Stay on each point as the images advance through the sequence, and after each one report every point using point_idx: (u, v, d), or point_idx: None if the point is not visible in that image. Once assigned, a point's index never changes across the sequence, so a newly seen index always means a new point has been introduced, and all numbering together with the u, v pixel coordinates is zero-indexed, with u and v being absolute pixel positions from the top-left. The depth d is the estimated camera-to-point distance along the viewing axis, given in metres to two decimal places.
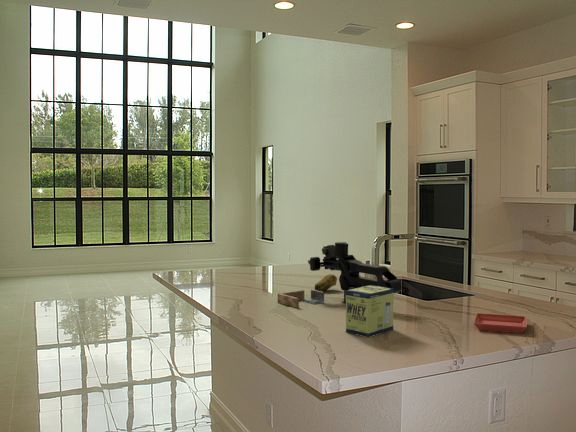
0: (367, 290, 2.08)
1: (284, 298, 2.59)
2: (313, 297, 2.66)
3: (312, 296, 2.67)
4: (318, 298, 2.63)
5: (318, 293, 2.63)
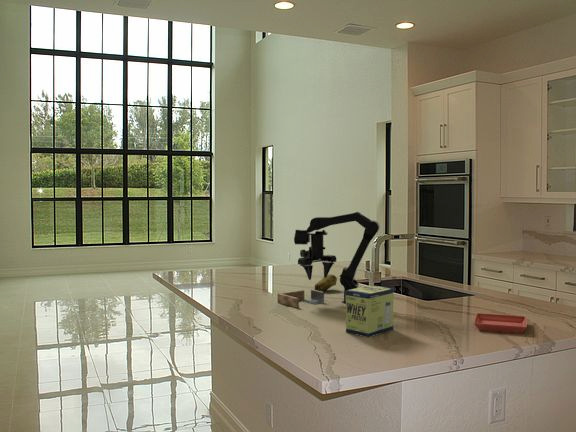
0: (367, 290, 2.08)
1: (284, 298, 2.59)
2: (313, 297, 2.66)
3: (312, 296, 2.67)
4: (318, 298, 2.63)
5: (318, 293, 2.63)
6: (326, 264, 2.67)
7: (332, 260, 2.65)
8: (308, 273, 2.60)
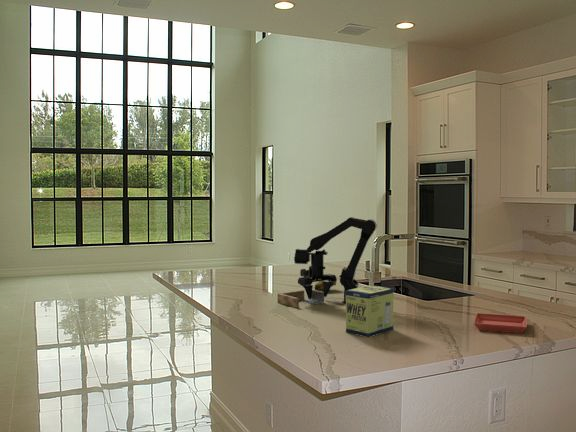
0: (367, 290, 2.08)
1: (284, 298, 2.59)
2: (313, 297, 2.66)
3: (312, 296, 2.67)
4: (318, 298, 2.63)
5: (318, 293, 2.63)
6: (326, 283, 2.67)
7: (332, 279, 2.66)
8: (308, 293, 2.61)
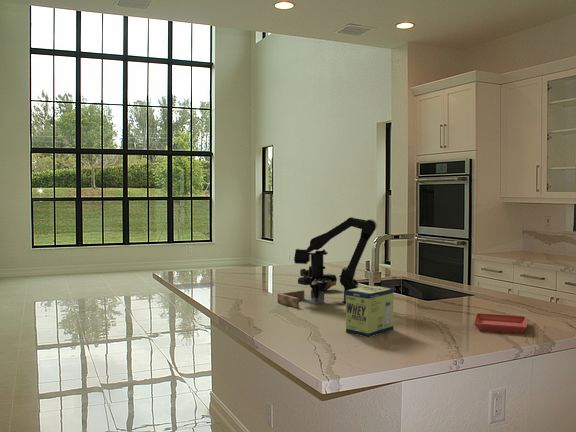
0: (367, 290, 2.08)
1: (284, 298, 2.59)
2: (313, 297, 2.66)
3: (312, 296, 2.67)
4: (318, 298, 2.63)
5: (318, 293, 2.63)
6: (320, 284, 2.65)
7: (332, 279, 2.66)
8: (315, 292, 2.63)
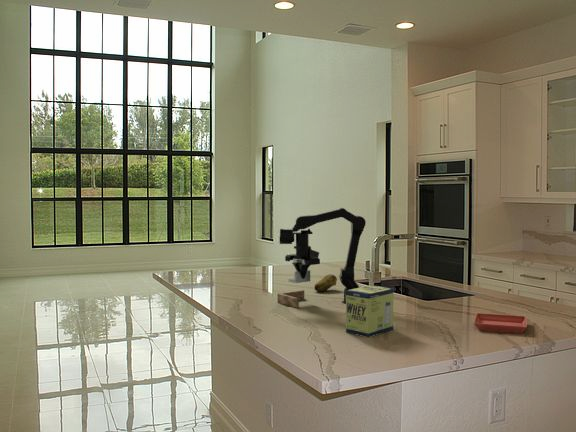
0: (367, 290, 2.08)
1: (284, 298, 2.59)
2: None
3: None
4: None
5: None
6: None
7: (305, 262, 2.53)
8: None
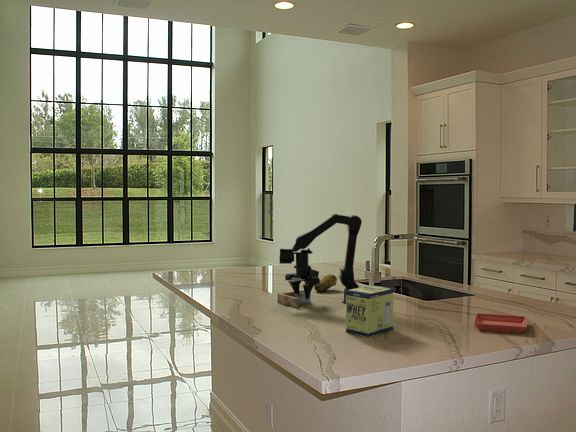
0: (367, 290, 2.08)
1: (284, 298, 2.59)
2: None
3: None
4: None
5: None
6: None
7: (305, 282, 2.53)
8: None
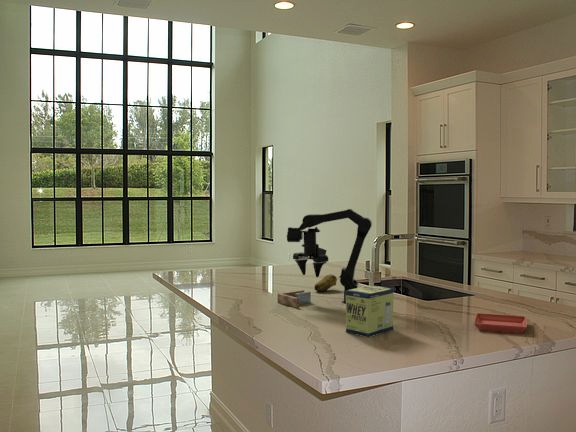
0: (367, 290, 2.08)
1: (284, 298, 2.59)
2: None
3: None
4: None
5: None
6: None
7: (314, 260, 2.57)
8: None
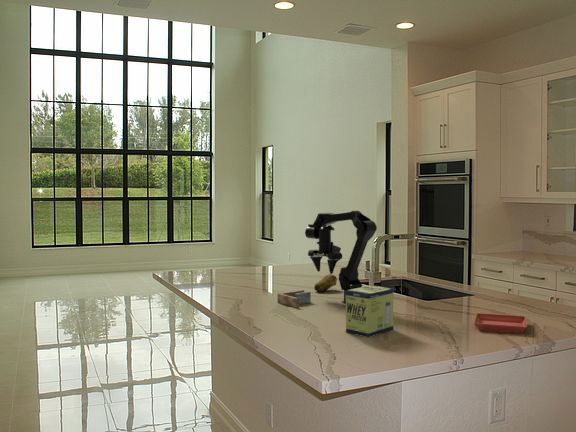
0: (367, 290, 2.08)
1: (284, 298, 2.59)
2: None
3: None
4: None
5: None
6: None
7: (328, 257, 2.65)
8: None
